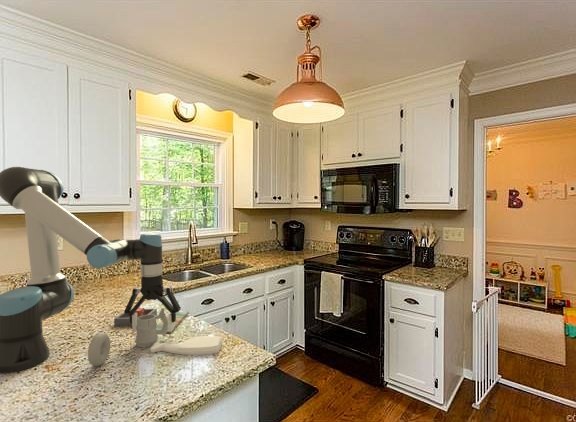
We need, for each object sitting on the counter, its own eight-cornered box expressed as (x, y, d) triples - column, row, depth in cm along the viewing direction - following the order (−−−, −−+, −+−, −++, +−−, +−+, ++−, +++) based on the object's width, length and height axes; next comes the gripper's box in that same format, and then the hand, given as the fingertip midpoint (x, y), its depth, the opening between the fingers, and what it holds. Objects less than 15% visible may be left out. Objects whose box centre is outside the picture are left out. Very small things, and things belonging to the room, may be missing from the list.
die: (139, 321, 141) (139, 310, 140) (129, 321, 141) (129, 310, 141) (145, 317, 145) (144, 307, 145) (134, 317, 145) (134, 307, 145)
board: (171, 333, 129) (171, 331, 129) (150, 333, 129) (150, 331, 129) (188, 313, 153) (188, 311, 153) (171, 313, 153) (171, 311, 153)
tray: (144, 325, 137) (144, 318, 137) (114, 325, 137) (114, 318, 137) (156, 315, 150) (156, 308, 150) (129, 315, 150) (128, 308, 150)
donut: (102, 357, 108) (101, 328, 108) (112, 357, 109) (112, 327, 108) (85, 372, 98) (85, 340, 98) (97, 372, 99) (96, 340, 98)
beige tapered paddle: (218, 356, 110) (145, 358, 109) (223, 342, 121) (157, 344, 120) (217, 347, 110) (145, 350, 109) (223, 334, 121) (157, 336, 120)
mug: (132, 342, 120) (132, 310, 120) (165, 334, 127) (164, 304, 127) (138, 349, 114) (138, 316, 114) (171, 341, 121) (171, 309, 121)
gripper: (188, 272, 124) (189, 326, 124) (123, 273, 124) (124, 327, 124) (182, 276, 117) (183, 334, 117) (113, 277, 116) (114, 335, 117)
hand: (153, 331), depth 121 cm, fingers open, 13 cm apart
